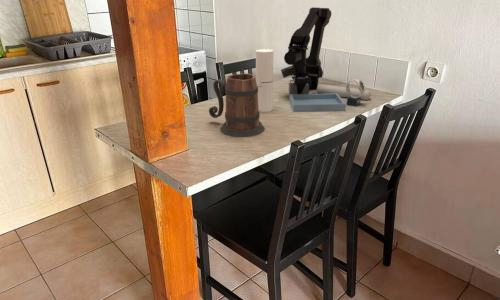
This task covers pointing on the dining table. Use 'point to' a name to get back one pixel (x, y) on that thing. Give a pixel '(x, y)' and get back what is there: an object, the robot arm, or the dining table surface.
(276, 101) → the dining table surface
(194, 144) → the dining table surface
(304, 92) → the caddy
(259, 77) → the cylindrical container
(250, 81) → the tankard
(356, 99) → the watch
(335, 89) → the tube
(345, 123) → the dining table surface
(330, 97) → the tray
